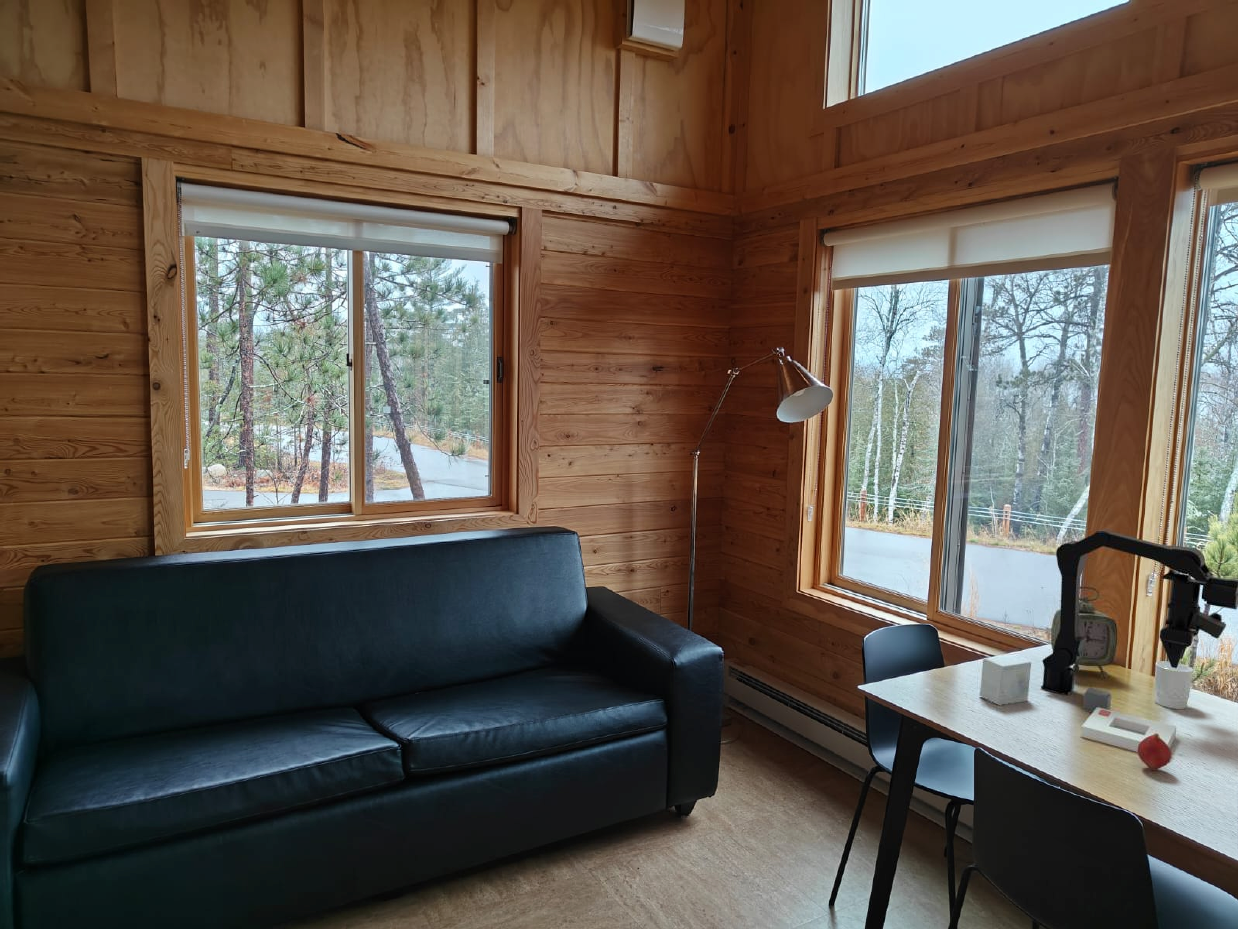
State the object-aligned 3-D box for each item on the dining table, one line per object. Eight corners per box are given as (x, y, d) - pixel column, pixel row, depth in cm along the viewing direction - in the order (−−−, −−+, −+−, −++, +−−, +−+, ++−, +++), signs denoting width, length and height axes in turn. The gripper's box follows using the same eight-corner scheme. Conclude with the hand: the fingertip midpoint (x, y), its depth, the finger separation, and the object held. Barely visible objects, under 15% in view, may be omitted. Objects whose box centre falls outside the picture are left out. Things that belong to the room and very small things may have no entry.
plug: (1083, 710, 202) (1084, 690, 201) (1086, 705, 205) (1088, 686, 204) (1106, 716, 198) (1107, 696, 198) (1109, 711, 201) (1111, 691, 201)
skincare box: (999, 706, 202) (1002, 665, 201) (978, 697, 208) (981, 657, 207) (1029, 701, 206) (1032, 661, 206) (1008, 692, 212) (1010, 653, 211)
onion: (1129, 763, 172) (1132, 727, 171) (1155, 763, 172) (1158, 727, 172) (1149, 776, 166) (1153, 739, 165) (1176, 776, 167) (1179, 738, 166)
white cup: (1195, 712, 202) (1199, 673, 202) (1160, 708, 204) (1164, 669, 203) (1180, 700, 210) (1184, 662, 209) (1146, 697, 212) (1150, 660, 211)
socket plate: (1080, 736, 185) (1081, 724, 185) (1096, 717, 197) (1097, 706, 197) (1164, 759, 175) (1165, 746, 174) (1175, 737, 187) (1176, 725, 186)
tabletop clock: (1058, 676, 226) (1065, 588, 224) (1045, 665, 235) (1052, 580, 233) (1113, 680, 224) (1121, 591, 222) (1099, 669, 233) (1106, 583, 231)
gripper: (1221, 614, 183) (1213, 681, 184) (1229, 600, 197) (1221, 662, 198) (1162, 604, 190) (1155, 669, 191) (1174, 591, 204) (1167, 651, 205)
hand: (1176, 663), depth 196 cm, fingers open, 9 cm apart
